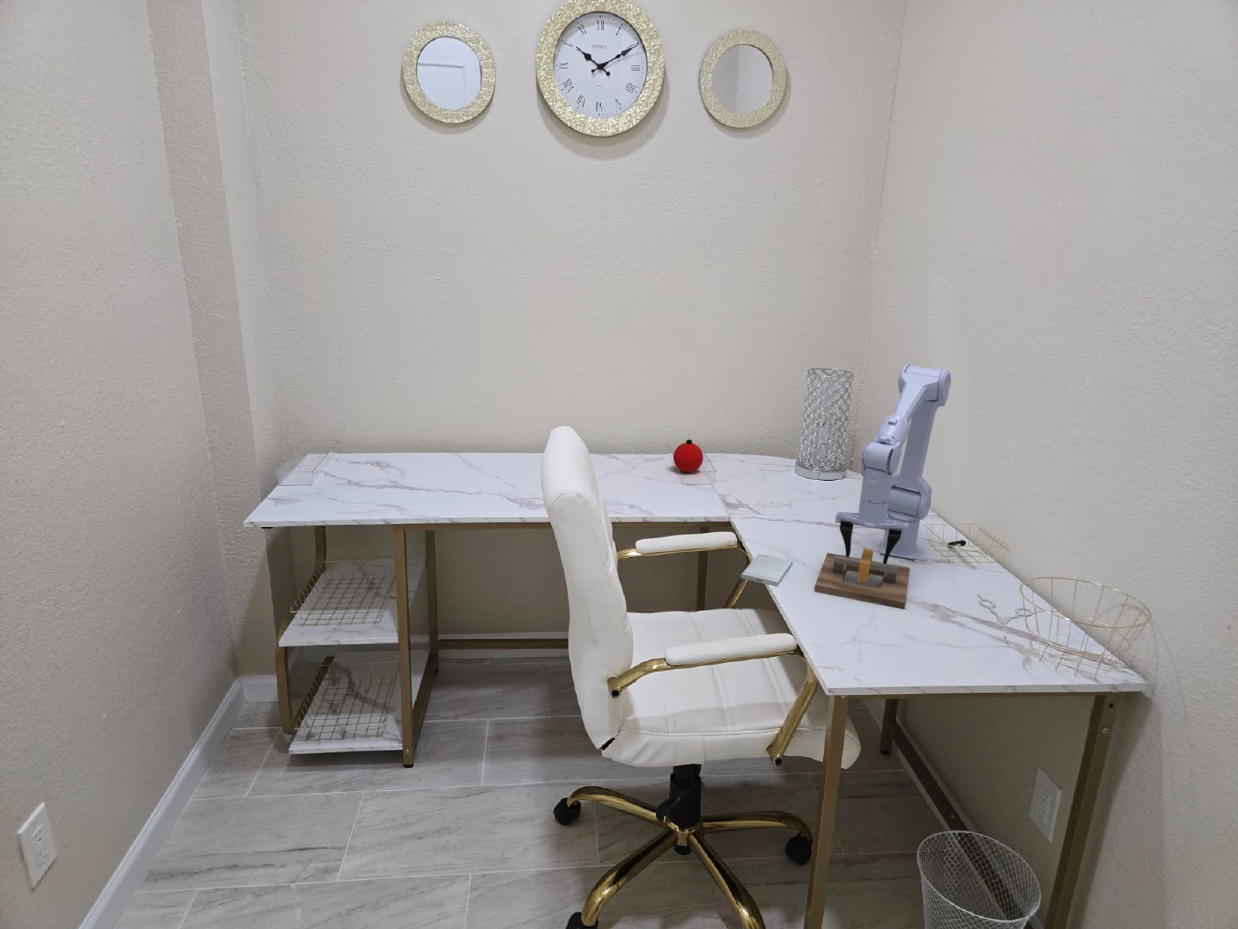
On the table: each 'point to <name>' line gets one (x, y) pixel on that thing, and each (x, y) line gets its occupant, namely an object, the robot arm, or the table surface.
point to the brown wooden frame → (884, 596)
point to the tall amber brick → (865, 565)
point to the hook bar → (890, 570)
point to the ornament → (688, 457)
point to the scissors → (999, 618)
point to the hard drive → (767, 569)
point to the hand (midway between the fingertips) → (866, 558)
